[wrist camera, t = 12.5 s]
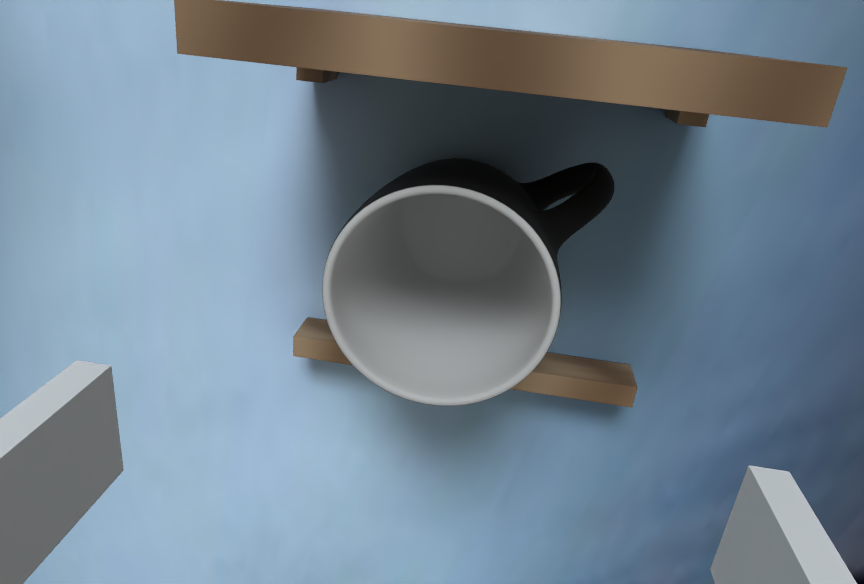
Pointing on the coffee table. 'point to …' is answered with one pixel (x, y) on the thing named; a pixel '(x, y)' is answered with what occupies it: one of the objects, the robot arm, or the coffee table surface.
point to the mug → (455, 277)
